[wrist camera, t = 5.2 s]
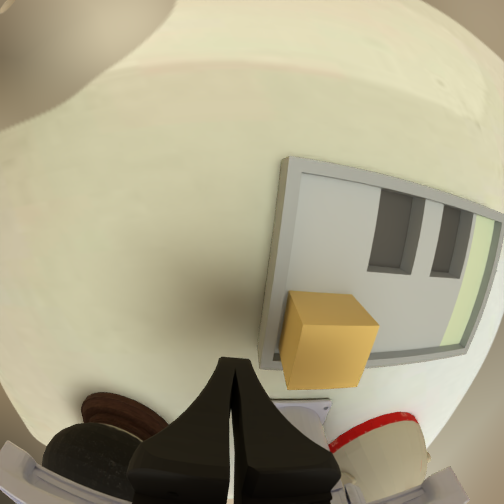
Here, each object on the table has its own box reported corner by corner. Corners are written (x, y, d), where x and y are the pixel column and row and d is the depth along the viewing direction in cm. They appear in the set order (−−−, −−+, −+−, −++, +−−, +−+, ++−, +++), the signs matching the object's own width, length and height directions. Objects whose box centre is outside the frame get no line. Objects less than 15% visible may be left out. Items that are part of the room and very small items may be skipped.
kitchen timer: (307, 476, 27) (325, 560, 13) (339, 420, 24) (380, 533, 10) (389, 461, 28) (419, 529, 14) (431, 403, 25) (484, 480, 10)
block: (336, 348, 19) (356, 386, 15) (278, 347, 19) (287, 389, 14) (351, 294, 18) (379, 325, 13) (288, 290, 18) (303, 324, 13)
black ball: (143, 464, 26) (122, 550, 11) (62, 407, 23) (14, 491, 8) (207, 439, 24) (198, 558, 9) (107, 366, 21) (38, 491, 7)
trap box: (450, 340, 22) (465, 354, 19) (257, 345, 21) (259, 369, 18) (486, 210, 19) (507, 215, 16) (281, 160, 17) (289, 155, 14)
